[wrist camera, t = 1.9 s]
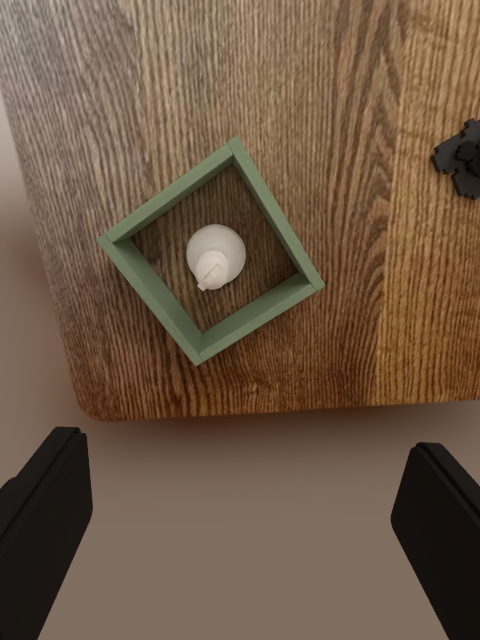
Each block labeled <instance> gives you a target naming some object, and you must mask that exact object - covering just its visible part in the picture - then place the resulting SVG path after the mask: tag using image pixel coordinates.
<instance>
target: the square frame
mask: <svg viewBox="0 0 480 640" xmlns="http://www.w3.org/2000/svg"><path fill="white" fill-rule="evenodd" d="M232 163H233V164H234V166H235V168H236V169H237V171H238V173H239V174H240V176H241V178H242V179H243V181H244V183H245V184H246V186H247V188H248V189H249V191H250V193H251V194H252V196H253V198H254V199H255V201H256V202H257V204H258V206H259V207H260V209H261V211H262V212H263V214H264V216H265V217H266V219H267V221H268V222H269V224H270V226H271V227H272V229H273V231H274V232H275V234H276V236H277V237H278V239H279V241H280V242H281V244H282V245H283V247H284V249H285V250H286V252H287V254H288V255H289V257H290V259H291V260H292V262H293V264H294V265H295V267H296V269H297V270H298V272H297V273H296V274H294V275H293V276H291V277H289V278H288V279H286V280H285V281H283V282H282V283H280V284H279V285H277V286H275V287H274V288H272V289H271V290H269V291H268V292H266V293H264V294H263V295H261V296H260V297H258V298H257V299H255V300H254V301H252V302H250V303H249V304H247V305H246V306H244V307H243V308H241V309H239V310H238V311H236V312H235V313H233V314H232V315H230V316H229V317H227V318H225V319H224V320H222V321H221V322H219V323H218V324H216V325H215V326H213V327H211V328H210V329H208V330H207V331H205V332H204V333H203V334H202V333H201V331H200V330H199V329H198V327H197V326H196V325H195V323H194V322H193V321H192V319H191V318H190V317H189V315H188V314H187V313H186V311H185V310H184V309H183V307H182V306H181V305H180V303H179V302H178V301H177V299H176V298H175V297H174V295H173V294H172V293H171V291H170V290H169V289H168V288H167V286H166V285H165V284H164V282H163V281H162V280H161V278H160V277H159V276H158V274H157V273H156V272H155V270H154V269H153V268H152V266H151V265H150V264H149V262H148V261H147V260H146V258H145V257H144V256H143V254H142V253H141V252H140V250H139V249H138V248H137V247H136V245H135V244H134V243H133V241H132V240H131V239H130V237H132V236H133V235H135V234H136V233H137V232H139V231H140V230H142V229H143V228H144V227H146V226H147V225H148V224H150V223H151V222H153V221H154V220H155V219H157V218H158V217H159V216H161V215H162V214H164V213H165V212H166V211H168V210H169V209H170V208H172V207H173V206H175V205H176V204H177V203H179V202H180V201H182V200H183V199H184V198H186V197H187V196H188V195H190V194H191V193H193V192H194V191H195V190H197V189H198V188H199V187H201V186H202V185H204V184H205V183H206V182H208V181H209V180H210V179H212V178H213V177H215V176H216V175H217V174H219V173H220V172H222V171H223V170H224V169H226V168H227V167H228V166H230V165H231V164H232ZM96 242H97V243H98V244H99V246H100V247H101V248H102V249H103V251H104V252H105V253H106V254H107V256H108V257H109V258H110V259H111V261H112V262H113V263H114V264H115V266H116V267H117V268H118V269H119V271H120V272H121V273H122V275H123V276H124V277H125V278H126V280H127V281H128V282H129V283H130V285H131V286H132V287H133V288H134V290H135V291H136V292H137V293H138V295H139V296H140V297H141V298H142V300H143V301H144V302H145V304H146V305H147V306H148V307H149V309H150V310H151V311H152V312H153V314H154V315H155V316H156V317H157V319H158V320H159V321H160V322H161V324H162V325H163V326H164V327H165V329H166V330H167V331H168V333H169V334H170V335H171V336H172V338H173V339H174V340H175V341H176V343H177V344H178V345H179V346H180V348H181V349H182V350H183V351H184V353H185V354H186V355H187V356H188V358H189V359H190V360H191V362H192V363H193V364H194V365H195V366H197V365H199V364H201V363H202V362H203V361H206V360H207V359H209V358H210V357H212V356H214V355H215V354H217V353H218V352H220V351H222V350H223V349H225V348H226V347H228V346H230V345H231V344H233V343H234V342H236V341H238V340H239V339H241V338H242V337H244V336H246V335H247V334H249V333H250V332H252V331H254V330H255V329H257V328H258V327H260V326H262V325H263V324H265V323H267V322H268V321H270V320H271V319H273V318H275V317H276V316H278V315H279V314H281V313H283V312H284V311H286V310H287V309H289V308H291V307H292V306H294V305H295V304H297V303H299V302H300V301H302V300H303V299H305V298H307V297H308V296H310V295H311V294H313V293H315V291H316V292H317V291H318V290H320V289H321V288H323V287H325V284H324V283H323V281H322V279H321V278H320V276H319V274H318V272H317V271H316V269H315V267H314V266H313V264H312V262H311V260H310V259H309V257H308V255H307V254H306V252H305V250H304V249H303V247H302V245H301V243H300V242H299V240H298V238H297V237H296V235H295V233H294V231H293V230H292V228H291V226H290V225H289V223H288V221H287V219H286V218H285V216H284V214H283V213H282V211H281V209H280V207H279V206H278V204H277V202H276V201H275V199H274V197H273V196H272V194H271V192H270V190H269V189H268V187H267V185H266V184H265V182H264V180H263V178H262V177H261V175H260V173H259V172H258V170H257V168H256V166H255V165H254V163H253V161H252V160H251V158H250V156H249V154H248V153H247V151H246V149H245V148H244V146H243V144H242V143H241V141H240V139H239V137H238V136H235V137H234V138H232V139H231V140H230V141H228V142H227V143H226V144H224V145H223V146H222V147H220V148H219V149H218V150H216V151H215V152H214V153H212V154H211V155H210V156H208V157H207V158H205V159H204V160H203V161H201V162H200V163H199V164H197V165H196V166H195V167H193V168H192V169H191V170H189V171H188V172H187V173H185V174H184V175H182V176H181V177H180V178H178V179H177V180H176V181H174V182H173V183H172V184H170V185H169V186H168V187H166V188H165V189H164V190H162V191H161V192H159V193H158V194H157V195H155V196H154V197H153V198H151V199H150V200H149V201H147V202H146V203H145V204H143V205H142V206H141V207H139V208H138V209H137V210H135V211H134V212H132V213H131V214H130V215H128V216H127V217H126V218H124V219H123V220H122V221H120V222H119V223H118V224H116V225H115V226H114V227H112V228H111V229H109V230H108V231H107V232H105V234H103V235H101V236H100V237H99V238H97V239H96Z"/></svg>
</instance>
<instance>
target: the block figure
mask: <svg viewBox="0 0 480 640" xmlns="http://www.w3.org/2000/svg"><path fill="white" fill-rule="evenodd" d="M464 124H465V127H466V129H464V130H463V131H461V134H462V138H460V135H459V134H457V135H455V136H453V137H451V138H450V139H448V140H447V141H445V142H443V143H442V144H440V145H439V146H437V147H435V148H434V149H435V152H436V154H435V155H433V156H431V158H432V161H433V164H434V166H435V169H436V172H440V171H443V173H444V174H447V173H449V172H451V171H452V170H454V169H455V172H456V173H455V174H453V175H452V176H451V178H452V181H453V183H454V186H455V189H456V192H457V194H458V196H462V195H464V197H465V198H469V197H470V196H471V199H472V200H473V199H477V198H479V197H480V120H479V121H477V122H475V121H474V118H472V119H469V120H468V121H466V122H465V123H464Z"/></svg>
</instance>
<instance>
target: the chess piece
mask: <svg viewBox="0 0 480 640" xmlns="http://www.w3.org/2000/svg"><path fill="white" fill-rule="evenodd" d="M186 257H187V262H188V266H189V268H190V270H191V271H192V273H193V274H194V275H195V277H196V280H197V282H198V283H199V284H198V287H199V288H200V289H201V290H202V291H204V290H205V289H210V290H214V289H218V288H220V287H222V286H223V285H224V284H226V283H228V282H230V281H232V280H233V279H235V278H236V277H237V276H238V275H239V273H240V272H241V271H242V269H243V267H244V264H245V260H246V249H245V246H244V243H243V241H242V239H241V237H240V236H239V235H238V234H237V233H236V232H235V231H234V230H232V229H231V228H229V227H227V226H224V225H219V224H212V225H207V226H204V227H202V228H200V229H199V230H198V231H196V232H195V233H194V234H193V236H192V237H191V239H190V240H189V243H188V246H187V251H186Z"/></svg>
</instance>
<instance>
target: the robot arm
mask: <svg viewBox="0 0 480 640" xmlns="http://www.w3.org/2000/svg"><path fill="white" fill-rule="evenodd" d="M87 447H88V446H87V436H86V434H85V433H81V431H80V429H79V428H78V427H55V428H54V429H53V430H52V432H51V433H50V434H49V436H48V437H47V438H46V439H45V440H44V442H43V443H42V444H41V446H40V447H39V448H38V449H37V451H36V452H35V453H34V454H33V456H32V457H31V458H30V459H29V461H28V462H27V463H26V465H25V466H24V467H23V469H22V470H21V471H20V472H19V473H18V475H17V476H16V477H13V478H11V479H10V480H8V481H7V482H6V483H5V484H4V485H3V486H2V488H1V489H0V640H37V639H38V637H39V635H40V632H41V630H42V628H43V626H44V623H45V621H46V619H47V616H48V614H49V612H50V610H51V608H52V605H53V603H54V600H55V598H56V596H57V594H58V592H59V589H60V587H61V585H62V583H63V580H64V578H65V576H66V574H67V571H68V569H69V567H70V565H71V562H72V560H73V558H74V556H75V553H76V551H77V549H78V547H79V544H80V542H81V540H82V537H83V535H84V533H85V531H86V528H87V525H88V524H89V522H90V519H91V515H92V510H93V504H92V492H91V480H90V469H89V457H88V448H87ZM391 524H392V528H393V530H394V532H395V534H396V536H397V538H398V540H399V542H400V544H401V546H402V548H403V550H404V552H405V554H406V556H407V558H408V560H409V562H410V564H411V566H412V568H413V569H414V571H415V573H416V575H417V578H418V579H419V581H420V583H421V585H422V587H423V589H424V591H425V593H426V595H427V597H428V599H429V601H430V603H431V605H432V607H433V609H434V611H435V613H436V615H437V617H438V619H439V621H440V622H441V625H442V627H443V629H444V630H445V632H446V635H447V637H448V638H449V640H480V486H479V485H478V484H477V483H476V482H475V480H474V479H473V478H472V477H471V476H470V475H469V474H468V473H467V472H466V470H465V469H464V468H463V467H462V466H461V465H460V464H459V463H458V461H457V460H456V459H455V458H454V457H453V456H452V455H451V454H450V453H449V452H448V450H447V449H446V448H445V447H444V446H443V445H441V444H440V443H426V442H419V443H417V444H416V446H415V447H413V448H411V450H410V453H409V456H408V460H407V463H406V466H405V470H404V473H403V476H402V480H401V483H400V486H399V490H398V493H397V496H396V500H395V503H394V507H393V510H392V513H391Z"/></svg>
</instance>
